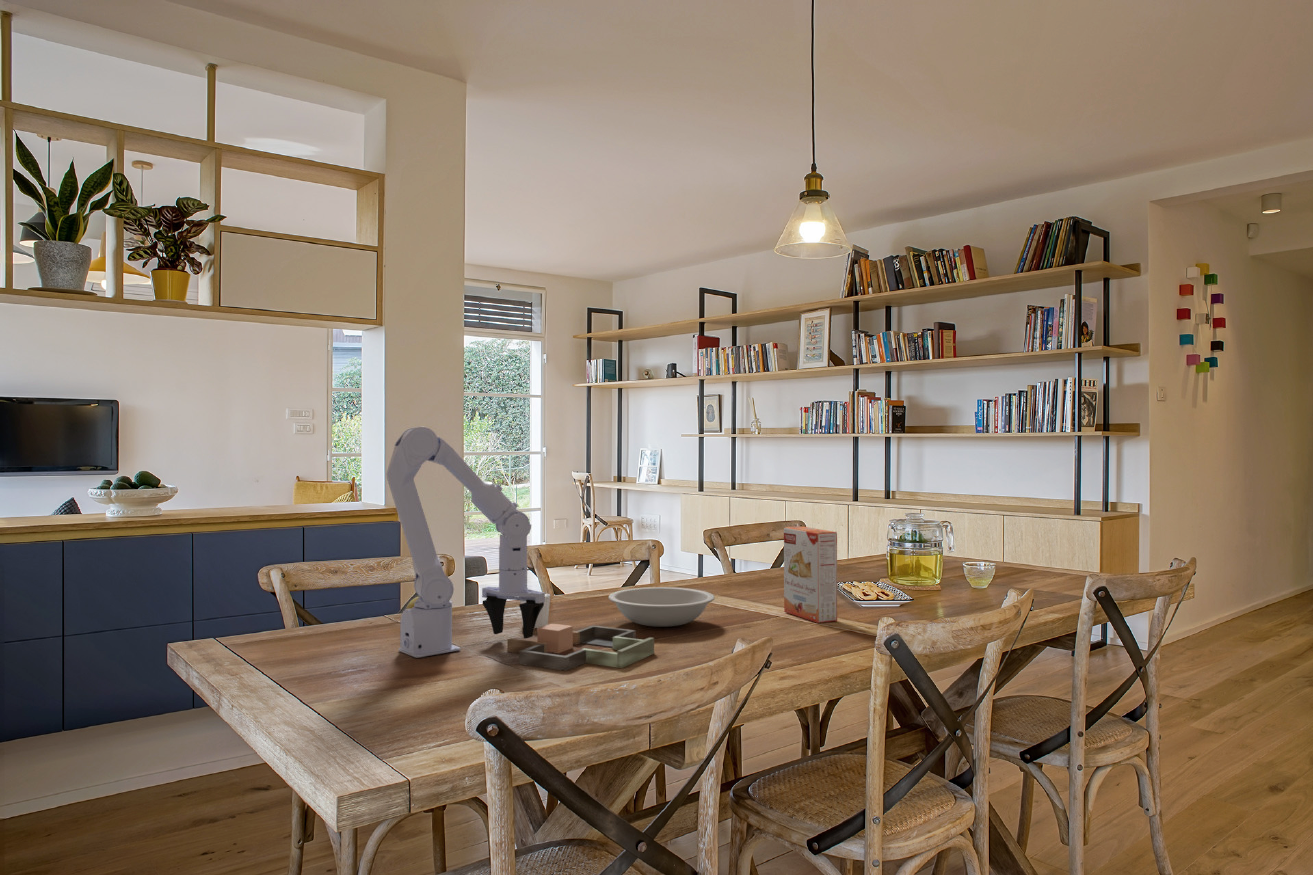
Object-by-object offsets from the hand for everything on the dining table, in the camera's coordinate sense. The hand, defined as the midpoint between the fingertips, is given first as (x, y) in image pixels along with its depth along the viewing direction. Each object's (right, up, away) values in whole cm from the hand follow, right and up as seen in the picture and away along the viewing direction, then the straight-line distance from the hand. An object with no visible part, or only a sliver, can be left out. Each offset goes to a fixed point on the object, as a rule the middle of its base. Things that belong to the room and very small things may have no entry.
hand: (512, 635), depth 173 cm
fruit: (-21, -2, +10) cm, 23 cm away
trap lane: (+15, -2, -8) cm, 16 cm away
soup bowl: (+31, -2, +18) cm, 36 cm away
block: (+9, -2, -5) cm, 11 cm away
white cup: (+2, -2, +17) cm, 17 cm away
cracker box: (+66, -2, +27) cm, 71 cm away
